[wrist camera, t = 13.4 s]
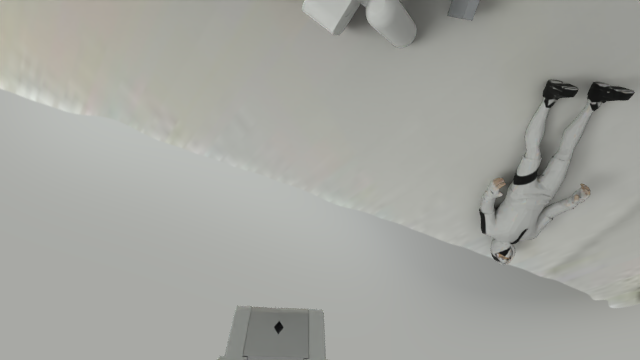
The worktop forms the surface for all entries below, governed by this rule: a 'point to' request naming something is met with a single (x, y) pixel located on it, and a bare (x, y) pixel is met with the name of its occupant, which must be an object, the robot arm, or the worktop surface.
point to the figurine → (535, 192)
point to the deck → (463, 9)
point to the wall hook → (381, 12)
